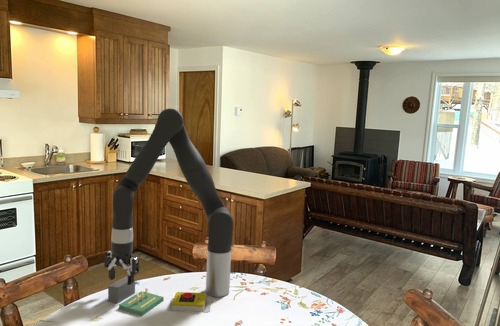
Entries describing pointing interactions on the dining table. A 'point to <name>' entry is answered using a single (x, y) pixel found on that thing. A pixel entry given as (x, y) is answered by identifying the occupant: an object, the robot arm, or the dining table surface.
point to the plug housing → (120, 290)
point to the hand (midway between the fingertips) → (121, 281)
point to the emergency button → (190, 302)
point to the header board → (141, 302)
